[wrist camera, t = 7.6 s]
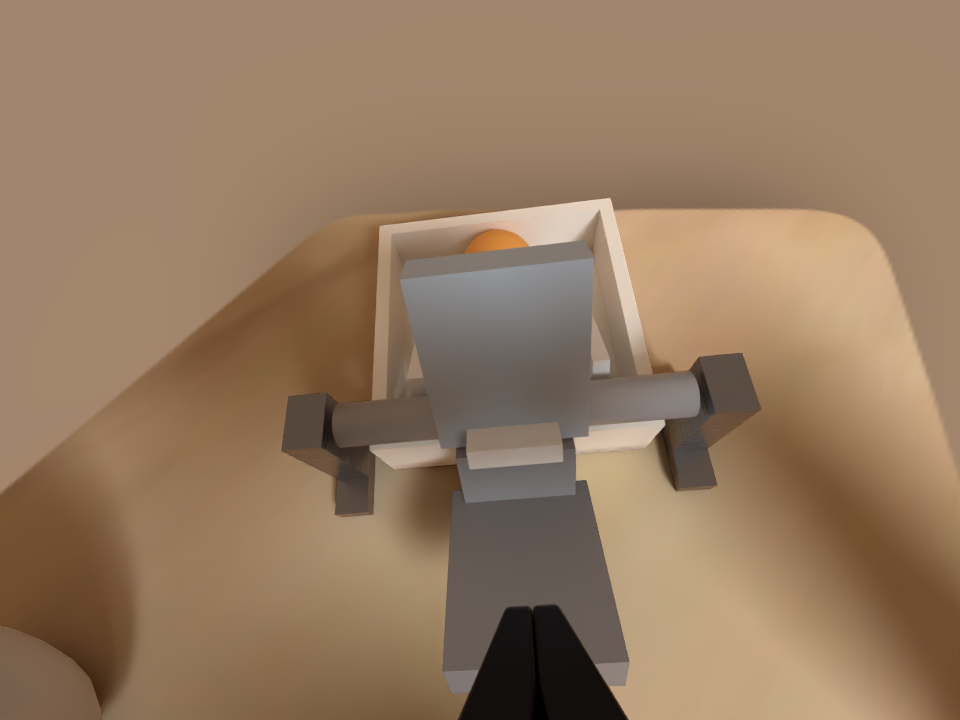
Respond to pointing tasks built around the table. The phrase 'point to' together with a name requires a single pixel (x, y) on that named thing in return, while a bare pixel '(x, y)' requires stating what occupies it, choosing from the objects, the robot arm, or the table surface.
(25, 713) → the donut
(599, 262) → the white storage bin
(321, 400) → the stand
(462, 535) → the lever
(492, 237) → the ball
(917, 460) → the table surface
